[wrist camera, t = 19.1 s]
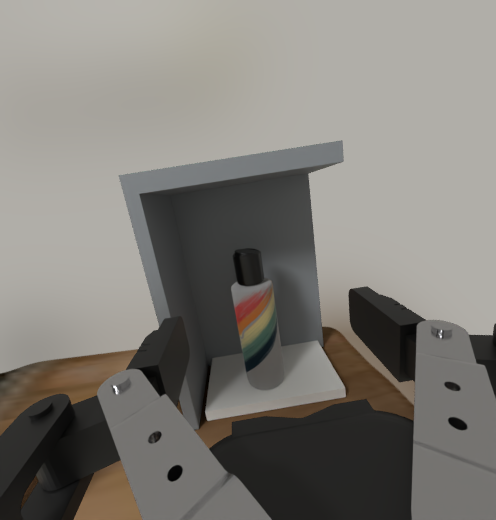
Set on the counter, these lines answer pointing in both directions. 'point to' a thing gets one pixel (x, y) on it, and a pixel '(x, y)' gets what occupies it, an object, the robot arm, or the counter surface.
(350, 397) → the counter surface
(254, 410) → the shelf mat
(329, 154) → the open shelf
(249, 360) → the lotion bottle
